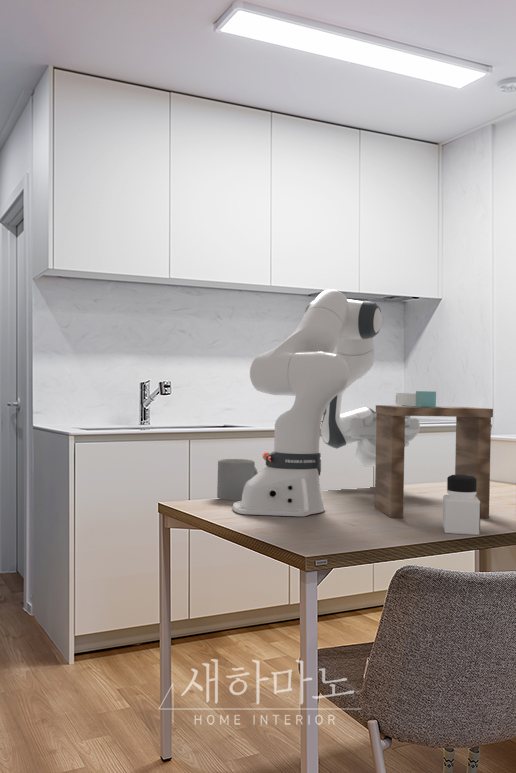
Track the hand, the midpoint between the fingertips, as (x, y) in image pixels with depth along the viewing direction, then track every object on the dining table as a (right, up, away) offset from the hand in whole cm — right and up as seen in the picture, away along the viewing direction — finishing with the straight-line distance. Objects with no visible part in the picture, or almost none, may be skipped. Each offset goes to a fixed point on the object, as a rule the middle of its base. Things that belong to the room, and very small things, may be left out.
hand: (390, 415), depth 196 cm
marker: (+2, +3, -20) cm, 20 cm away
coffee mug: (-42, -22, -6) cm, 48 cm away
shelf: (+5, -23, -25) cm, 34 cm away
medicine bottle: (+6, -23, -47) cm, 53 cm away
